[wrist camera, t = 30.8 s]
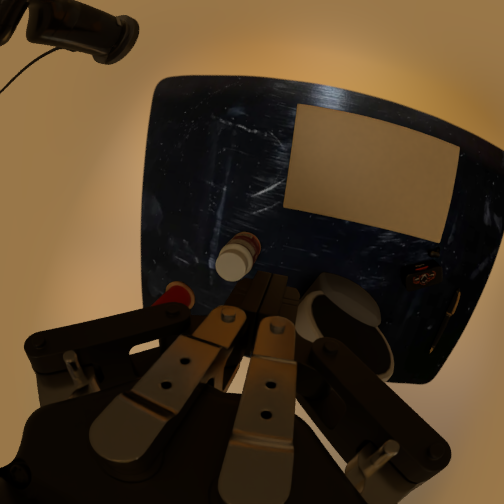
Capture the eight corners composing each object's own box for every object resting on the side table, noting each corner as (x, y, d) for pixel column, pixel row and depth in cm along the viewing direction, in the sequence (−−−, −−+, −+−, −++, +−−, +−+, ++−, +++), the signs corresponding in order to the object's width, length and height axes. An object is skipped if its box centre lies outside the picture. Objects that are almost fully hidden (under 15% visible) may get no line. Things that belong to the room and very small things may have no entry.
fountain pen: (430, 351, 41) (432, 356, 39) (426, 351, 41) (428, 356, 40) (460, 286, 35) (463, 290, 34) (455, 285, 36) (459, 289, 34)
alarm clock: (393, 309, 40) (420, 390, 23) (355, 348, 44) (360, 432, 27) (318, 257, 40) (315, 331, 23) (281, 304, 44) (258, 386, 28)
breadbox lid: (456, 147, 20) (460, 147, 20) (436, 241, 24) (439, 243, 24) (298, 105, 24) (297, 103, 23) (283, 205, 28) (282, 207, 27)
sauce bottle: (165, 299, 49) (137, 328, 40) (171, 280, 47) (141, 308, 38) (187, 312, 49) (161, 344, 40) (194, 293, 47) (168, 324, 38)
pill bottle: (246, 266, 43) (231, 290, 36) (225, 244, 43) (205, 265, 35) (268, 247, 41) (256, 270, 34) (246, 224, 41) (229, 242, 33)
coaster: (163, 299, 50) (162, 300, 49) (170, 275, 47) (169, 276, 47) (189, 314, 50) (188, 315, 49) (199, 291, 47) (198, 292, 47)
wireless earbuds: (439, 272, 36) (446, 280, 33) (401, 282, 38) (406, 292, 35) (437, 245, 34) (446, 252, 32) (398, 255, 37) (404, 264, 34)
